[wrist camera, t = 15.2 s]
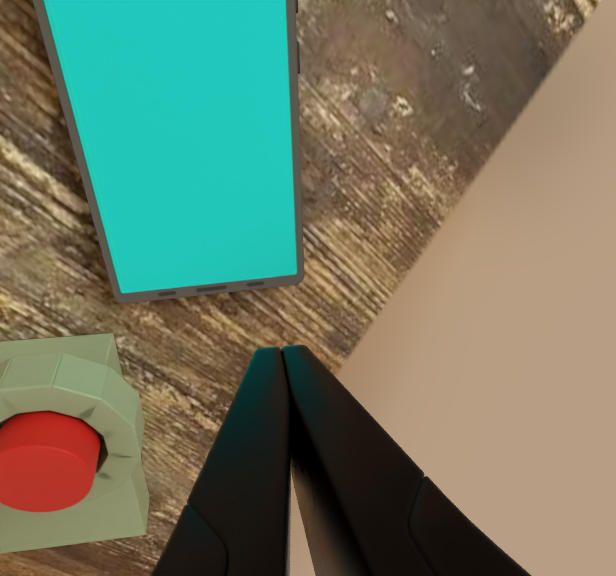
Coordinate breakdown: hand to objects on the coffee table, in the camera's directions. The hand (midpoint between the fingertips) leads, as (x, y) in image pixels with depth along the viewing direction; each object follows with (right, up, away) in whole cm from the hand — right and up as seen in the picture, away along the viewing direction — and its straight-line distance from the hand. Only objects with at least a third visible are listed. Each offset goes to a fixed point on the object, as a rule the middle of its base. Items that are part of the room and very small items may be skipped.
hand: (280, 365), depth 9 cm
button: (-9, -5, +11) cm, 15 cm away
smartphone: (-4, +8, +8) cm, 12 cm away
